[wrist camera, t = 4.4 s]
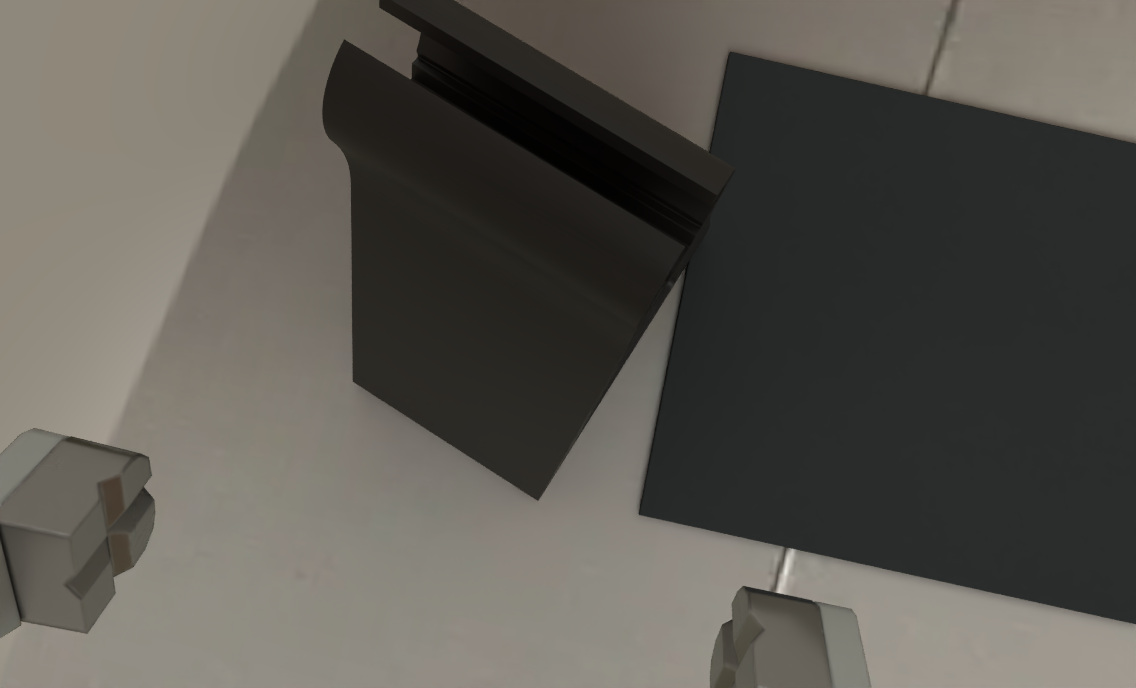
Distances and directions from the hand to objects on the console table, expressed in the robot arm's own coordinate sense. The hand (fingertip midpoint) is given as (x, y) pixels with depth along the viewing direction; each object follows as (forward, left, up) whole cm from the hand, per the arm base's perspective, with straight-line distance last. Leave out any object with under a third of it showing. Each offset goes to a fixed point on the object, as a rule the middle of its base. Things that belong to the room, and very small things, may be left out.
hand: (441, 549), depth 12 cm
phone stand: (0, +6, -12) cm, 14 cm away
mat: (+11, +8, -12) cm, 18 cm away
